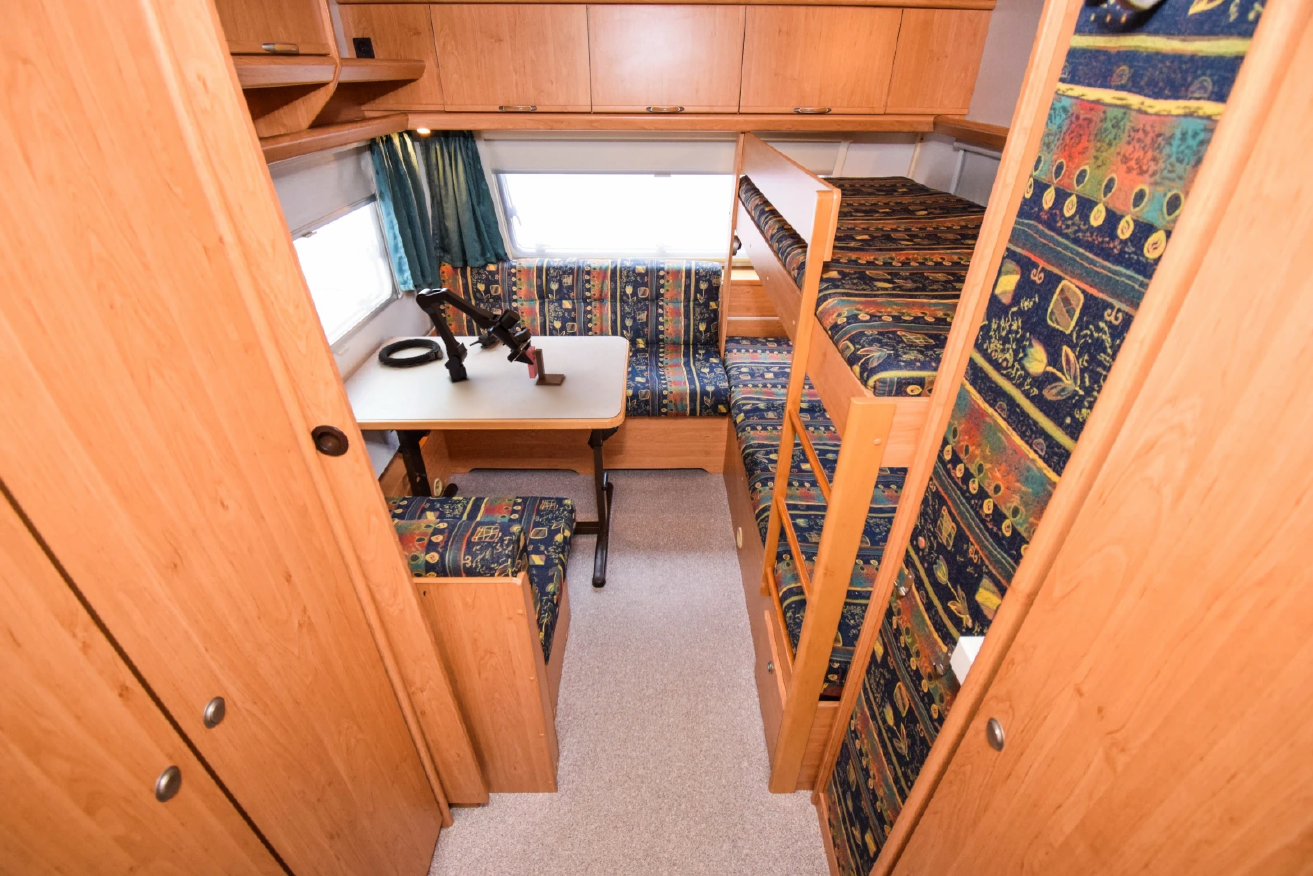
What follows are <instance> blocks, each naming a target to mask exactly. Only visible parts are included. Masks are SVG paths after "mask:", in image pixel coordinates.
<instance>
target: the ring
mask: <svg viewBox="0 0 1313 876" xmlns="http://www.w3.org/2000/svg"><path fill="white" fill-rule="evenodd" d="M410 347H411V348H413V347H426V348H431V349H430V350H429V351H427V352H425V353H422V354H419V355H416V356H410V357H399V358H395V357H389V356H388V355H390V354H391V353H393V352H395V351H398V350H400V349H401V350H402V349H405V348H410ZM443 355H444V353H443V350H442V349H441V346H440V343H438V342H437V341H435V340H433V339H430V338H429V339H428V338H408V339H405V340H398V341H396V342H393V343H390V344H387V345H385V346H384V347H382V348H381V350H380V351H378V354H377V356H378V360H379V361H380V363H383V364H384V365H388V366H391V367H395V366H396V367H407V366H408V367H409V366H415V365H418V364H419V365H420V364H423V363H425V362H429V361H433V360H434V359H436V360H439V359H442V358H443Z"/></svg>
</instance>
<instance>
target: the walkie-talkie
mask: <svg viewBox="0 0 1313 876" xmlns="http://www.w3.org/2000/svg"><path fill="white" fill-rule="evenodd" d="M498 340H499V339H498V338H497V337H495V336H494V335H493V334H492V335H491V336H490V337H488V332H487V333H484V334H481V335H479V336H478V337H477V340H476V341H473V342H472V343H470V344H469V346H470V347H472V346H475V345H478V344H481V345H480V348H484V349H485V348H488V347H490V346H492V345H493V344H494V343H496V342H497V341H498Z"/></svg>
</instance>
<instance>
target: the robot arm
mask: <svg viewBox="0 0 1313 876" xmlns="http://www.w3.org/2000/svg"><path fill="white" fill-rule="evenodd" d="M415 302H416V304H417V305H418V307H419V308H420V309H421V311H423V312H424V313H425V314H427V315H428V317H429V319H430V321H431V322H432V324H433V326H434V328H435V329H436V331H437V333H438V335H439V337H440V338H441V340H442V341H443V344H444V345H445V351H446V356H447V358H448V360H447V361H446V362H445V363H444V368H445V369H446V370H448V378H449V380H450V381H451V383H457V382H462V381H466V380H468V373H467V368H466V366H465V365H464V362H465V360H466V358H467V357H468V349H467V348H466V346H465V343H464V342H463V341H462V342H459V341H458V340H457V339H456V337H455V336H454V333H453V332H452V330H451V328H450V326H449V324H448V322H447V321H446V319H445V317H444V315H443V313H442V312H441V310H440V304H439V302H445V303H447V304H449V305H451V306H452V307H454V308H455V309H457V310H459V311H460V312H462V313H463V314H465V315H467V316H468V317H469V318H470V319H472V321H473V322H474V324H476V325H477V326H478V327H480V328H481V329H482V330H486V331H487V333H488V337H490V336H491V335H492V334H493V335H494V336H495V337H497V338H498V340H499V341H500V342H501V343H502V344H501V345H502V346H503V347H505V346H506V347H507V348H508V349H509V354H508V355H507V358H506V359H507V361H508V362H509V363H513V362H518V363H522V364H525V365H528V364H529V365H533V364H534V363H533V362H532V361H531V359H530V358H529V357H528V356H527V355H526V354H525V350H526V351H527V350H528V348H529V347H530V346H532V340H531V338H532V333H531V328H529V327H528V326H525V325H523V326H521V327H520V330H519V331H518V332H516V331H514V330H513V331H511V330H512V329H513V328H515V326H516V325H517V324H518V323H519V322H520V321H521V319H522V317H521V315H520V314H519V313H518V312H517V311H515V310H513V309H510V308H508V307H507V308H506V309H505V310H504V311H503V312H502V313H501V314H500V313H494V312H492V311H491V310H488V309H486V308H482V307H478V306H477V305H475V304H473V303H471V302H470V301H468V300H466V299H465V298H463V297H462V296H460V295H458V294H456V293H455V292H454V291H452V290H451V289H450V288H449V287H445V288H434V289H430V288H424V289H423V290H421V291H420V292H419V293H417V295H415ZM498 323H499V324H498Z"/></svg>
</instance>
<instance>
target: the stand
mask: <svg viewBox="0 0 1313 876" xmlns="http://www.w3.org/2000/svg"><path fill="white" fill-rule="evenodd" d="M525 354H526V350H525ZM532 355H536V362H537V370H538V374H537V376H538V378H537V380H536V382H535V385H536V386H561V384H562V382H563V380H564V377H565V373H546V370H545V362H544V354H543V348H535V351H533V353H532Z"/></svg>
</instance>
